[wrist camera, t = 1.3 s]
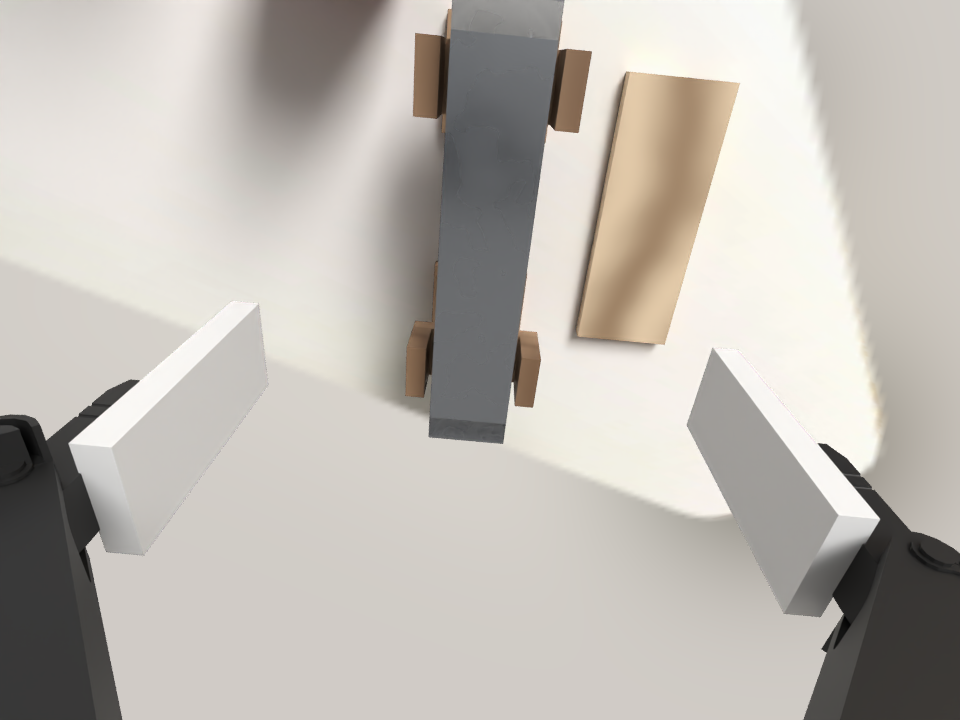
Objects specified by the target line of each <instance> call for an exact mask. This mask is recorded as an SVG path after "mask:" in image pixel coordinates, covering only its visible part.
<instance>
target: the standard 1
mask: <svg viewBox="0 0 960 720" xmlns="http://www.w3.org/2000/svg"><path fill="white" fill-rule="evenodd" d="M437 274H438V262H436V263H435V272H434V291H433V311H432V322H423V321H415V323H414V326H413V329H412V333H411V336H410V339H409V342H408V345H407V357H406V394H405V396H411V397H422V398H424V394H425V390H426V385H427V381H428V376H429V375H432V366H433V347H434V329H435V310H436V292H437ZM526 278H527V274H526ZM525 285H526V281H525ZM524 293H525V288H524ZM523 300H524V296H523ZM522 307H523V303H522ZM521 314H522V310H521ZM520 321H521V317H520ZM519 329H520V324H519ZM540 362H541V357H540V351H539V344H538V337H537V332H529V331H519V332H518V339H517V346H516V353H515V361H514V368H513V375H512V382H514V400H515V406H521V407H532V408H533V404H534V398H535V392H536V386H537V380H538V374H539V368H540Z"/></svg>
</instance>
